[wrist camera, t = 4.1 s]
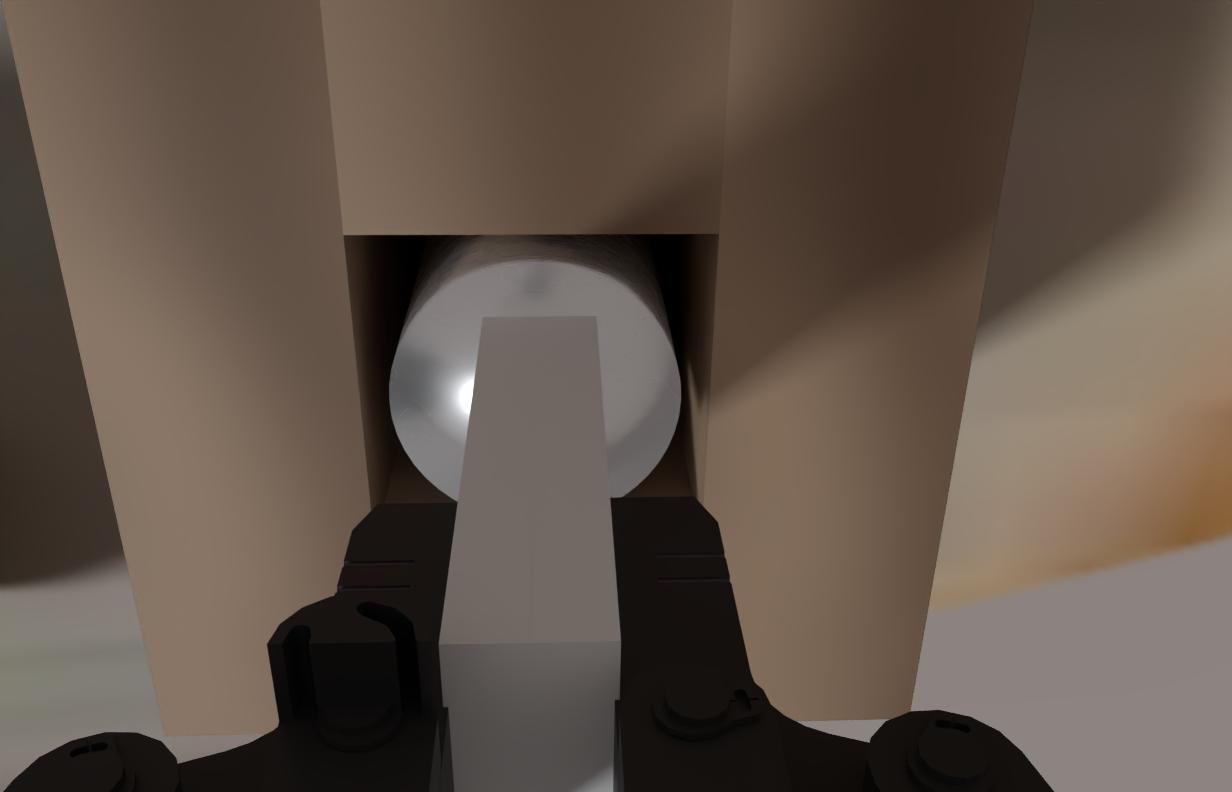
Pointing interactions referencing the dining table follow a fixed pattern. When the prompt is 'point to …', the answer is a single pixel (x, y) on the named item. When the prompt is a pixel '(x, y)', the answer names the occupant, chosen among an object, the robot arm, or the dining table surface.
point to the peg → (535, 287)
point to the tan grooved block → (516, 205)
